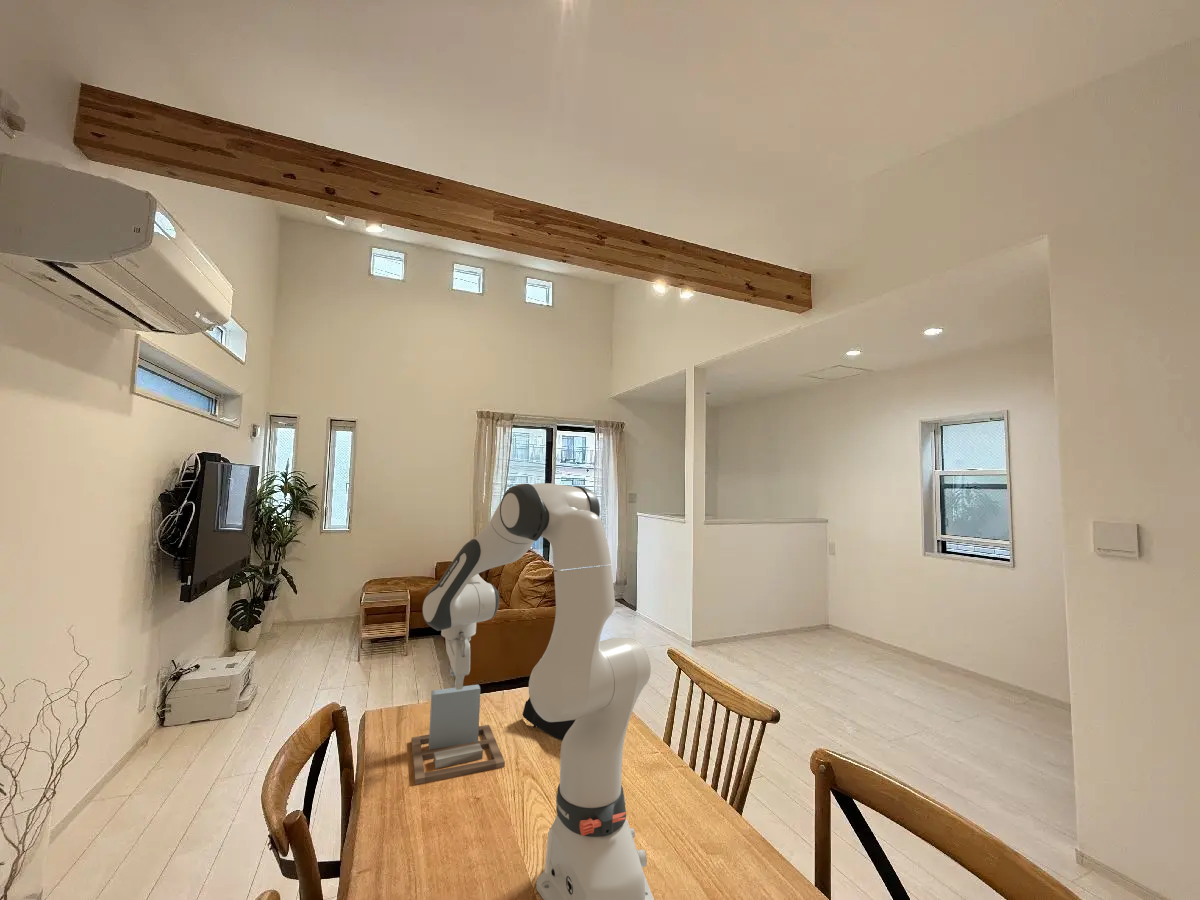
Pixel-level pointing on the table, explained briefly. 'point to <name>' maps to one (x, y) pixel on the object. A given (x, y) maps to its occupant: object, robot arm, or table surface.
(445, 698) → the sheet
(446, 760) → the offcut upper
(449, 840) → the table surface
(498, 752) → the rack
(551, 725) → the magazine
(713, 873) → the table surface
